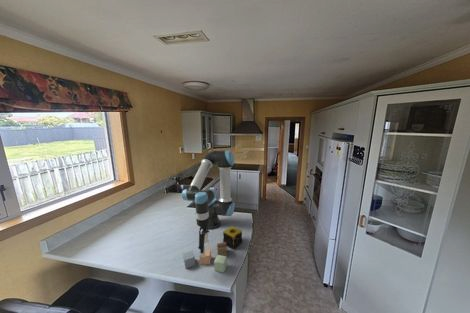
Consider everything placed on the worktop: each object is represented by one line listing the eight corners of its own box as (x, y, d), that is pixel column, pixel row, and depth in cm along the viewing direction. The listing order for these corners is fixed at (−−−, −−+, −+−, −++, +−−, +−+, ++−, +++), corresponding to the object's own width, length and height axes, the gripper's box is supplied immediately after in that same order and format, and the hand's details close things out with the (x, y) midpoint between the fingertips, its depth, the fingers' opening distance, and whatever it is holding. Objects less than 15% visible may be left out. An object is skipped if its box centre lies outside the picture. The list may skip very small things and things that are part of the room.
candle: (223, 244, 129) (222, 231, 127) (232, 237, 137) (231, 225, 135) (233, 250, 123) (232, 237, 121) (242, 242, 130) (242, 230, 128)
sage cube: (217, 263, 112) (217, 254, 111) (227, 264, 110) (226, 256, 109) (214, 270, 106) (213, 262, 105) (223, 272, 104) (223, 263, 103)
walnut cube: (217, 251, 122) (216, 243, 121) (226, 250, 123) (225, 242, 122) (218, 257, 116) (217, 249, 115) (227, 256, 117) (226, 248, 116)
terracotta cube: (202, 257, 117) (201, 249, 116) (211, 257, 117) (210, 249, 116) (200, 264, 111) (199, 256, 110) (210, 264, 111) (209, 255, 110)
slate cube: (184, 262, 114) (183, 253, 112) (193, 259, 116) (192, 250, 115) (185, 268, 108) (184, 260, 107) (195, 265, 111) (194, 256, 110)
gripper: (200, 208, 121) (202, 237, 124) (191, 229, 96) (194, 264, 100) (211, 208, 121) (213, 236, 124) (205, 229, 96) (207, 263, 100)
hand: (204, 249), depth 112 cm, fingers open, 13 cm apart
